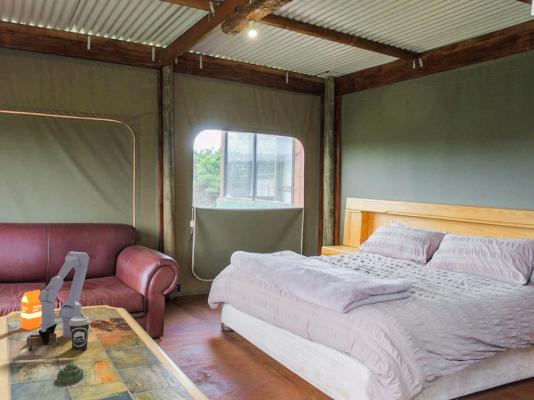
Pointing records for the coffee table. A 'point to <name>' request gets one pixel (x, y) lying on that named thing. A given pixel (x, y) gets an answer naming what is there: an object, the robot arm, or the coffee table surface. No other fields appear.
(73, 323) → the coffee cup
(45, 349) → the birch board
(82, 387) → the coffee table surface
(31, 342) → the peg
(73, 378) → the decorative artifact
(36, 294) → the orange juice
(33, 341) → the walnut link
